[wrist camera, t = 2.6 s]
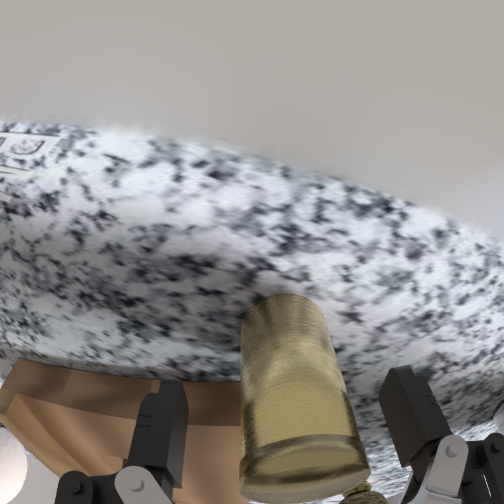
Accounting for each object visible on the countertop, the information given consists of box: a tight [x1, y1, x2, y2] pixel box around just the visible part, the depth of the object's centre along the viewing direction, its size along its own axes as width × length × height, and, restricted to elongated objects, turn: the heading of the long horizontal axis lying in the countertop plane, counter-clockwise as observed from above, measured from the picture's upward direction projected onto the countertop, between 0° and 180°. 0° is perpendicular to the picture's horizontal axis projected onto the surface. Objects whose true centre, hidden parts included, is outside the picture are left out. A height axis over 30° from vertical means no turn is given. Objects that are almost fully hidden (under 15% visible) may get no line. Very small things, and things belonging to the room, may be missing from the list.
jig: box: [0, 358, 249, 504], centre depth 18 cm, size 16×18×5 cm
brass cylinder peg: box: [239, 294, 371, 504], centre depth 11 cm, size 4×4×8 cm
